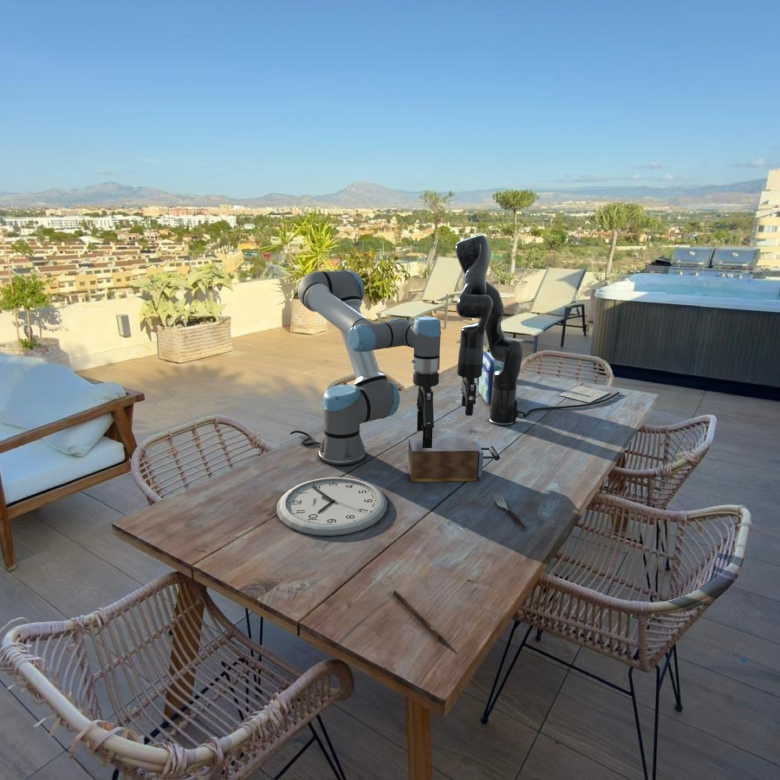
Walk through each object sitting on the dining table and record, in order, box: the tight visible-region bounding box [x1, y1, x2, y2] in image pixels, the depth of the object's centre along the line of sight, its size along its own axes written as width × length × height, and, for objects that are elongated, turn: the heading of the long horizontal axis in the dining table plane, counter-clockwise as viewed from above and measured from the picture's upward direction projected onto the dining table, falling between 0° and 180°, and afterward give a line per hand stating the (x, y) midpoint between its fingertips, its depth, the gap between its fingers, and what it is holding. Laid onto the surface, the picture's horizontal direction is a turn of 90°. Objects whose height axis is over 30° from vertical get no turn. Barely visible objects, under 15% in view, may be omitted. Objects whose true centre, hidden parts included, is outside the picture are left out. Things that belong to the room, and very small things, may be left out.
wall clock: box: [276, 476, 388, 537], centre depth 142 cm, size 30×2×30 cm
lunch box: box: [476, 351, 504, 406], centre depth 230 cm, size 26×11×21 cm, turn 179°
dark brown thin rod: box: [392, 590, 441, 641], centre depth 102 cm, size 15×1×1 cm, turn 34°
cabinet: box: [407, 437, 479, 483], centre depth 161 cm, size 20×10×10 cm, turn 94°
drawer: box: [473, 440, 501, 478], centre depth 161 cm, size 24×9×8 cm, turn 94°
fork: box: [493, 492, 526, 529], centre depth 140 cm, size 3×16×2 cm, turn 15°
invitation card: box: [558, 385, 610, 404], centre depth 243 cm, size 21×1×15 cm
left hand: (424, 438), depth 158 cm, fingers open, 13 cm apart
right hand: (466, 410), depth 164 cm, fingers open, 8 cm apart
